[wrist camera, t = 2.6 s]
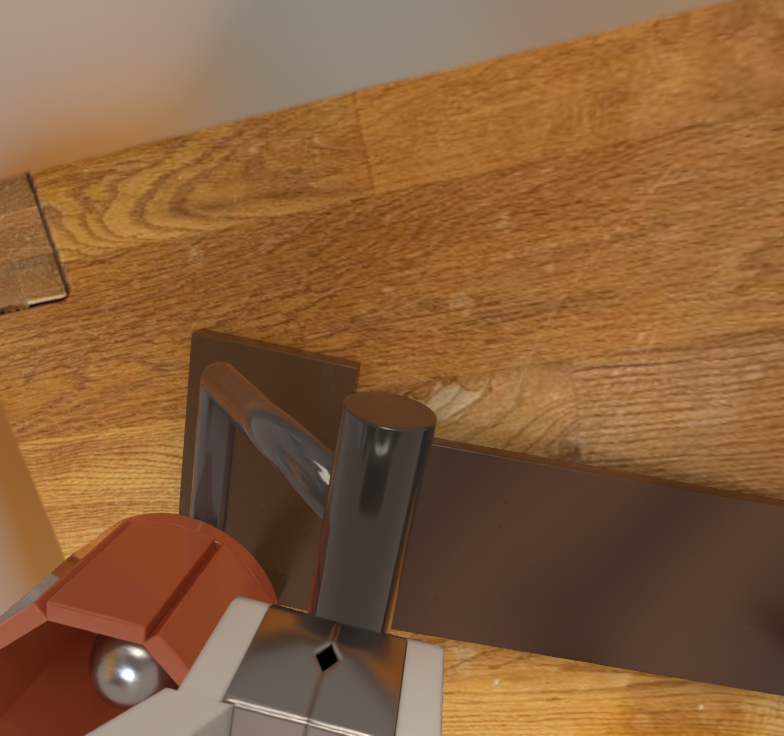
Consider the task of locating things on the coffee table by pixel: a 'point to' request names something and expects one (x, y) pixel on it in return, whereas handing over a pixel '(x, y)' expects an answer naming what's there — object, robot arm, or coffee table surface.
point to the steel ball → (125, 672)
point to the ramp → (597, 567)
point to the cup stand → (252, 471)
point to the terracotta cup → (220, 551)
